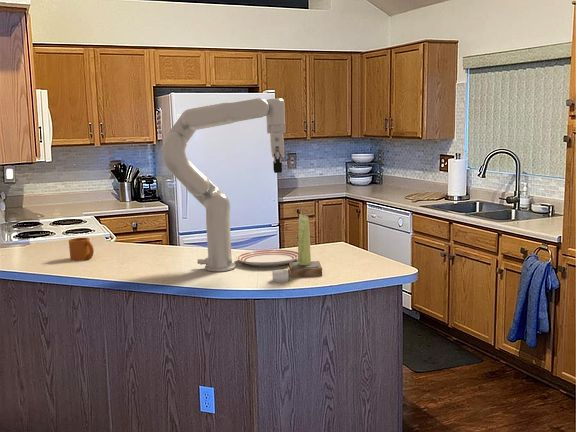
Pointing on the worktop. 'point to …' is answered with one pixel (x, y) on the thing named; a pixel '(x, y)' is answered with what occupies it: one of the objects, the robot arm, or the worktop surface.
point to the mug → (80, 249)
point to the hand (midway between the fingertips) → (277, 171)
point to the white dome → (280, 275)
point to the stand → (305, 269)
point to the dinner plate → (268, 257)
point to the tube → (304, 241)
